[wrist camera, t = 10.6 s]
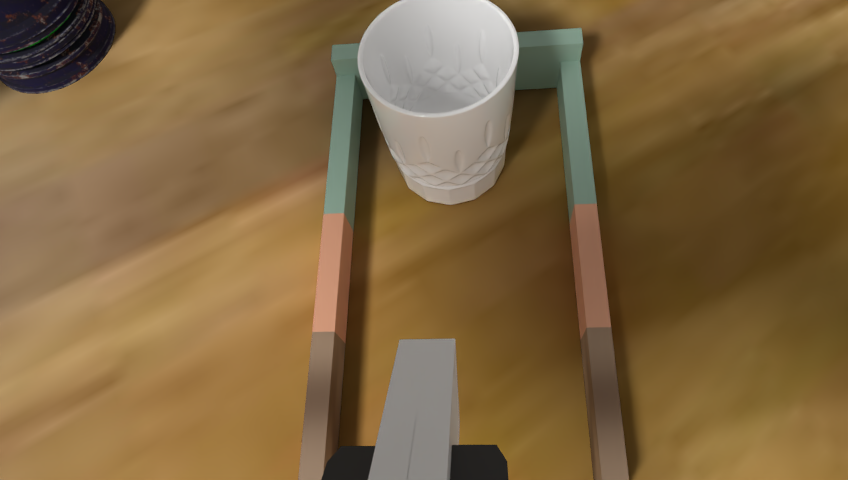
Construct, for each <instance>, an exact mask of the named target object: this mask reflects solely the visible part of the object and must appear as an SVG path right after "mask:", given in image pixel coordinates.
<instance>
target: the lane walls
mask: <svg viewBox="0 0 848 480" xmlns="http://www.w3.org/2000/svg"><path fill="white" fill-rule="evenodd" d="M580 341H581V351H582V362H583V373H584V383H585V394H586V404H587V415H588V425H589V436H590V447H591V457H592V468H593V478H594V480H629V475H628V466H627V458H626V449H625V441H624V432H623V424H622V415H621V407H620V398H619V390H618V381H617V372H616V364H615V355H614V347H613V338H612V330H611V327H594V328H586V330H585V332H584V334H583V336H582V338H581V340H580ZM344 357H345V343H344V341H343V340H342V339H341V338H340V337H339V336H338V335H337V334H336V333H335V332H312V341H311V352H310V362H309V373H308V383H307V394H306V404H305V415H304V426H303V436H302V447H301V457H300V468H299V478H298V480H321V479H322V476H323V473H324V470H325V467H326V463H327V462H328V460H329V459H330V458H331V457H332V456H333V455H334V454H335V452H336V451H337V450H338V442H339V428H340V414H341V400H342V386H343V371H344Z"/></svg>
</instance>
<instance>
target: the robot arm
mask: <svg viewBox="0 0 848 480" xmlns="http://www.w3.org/2000/svg"><path fill="white" fill-rule="evenodd" d="M459 427H460V419H459V401H458V382H457V363H456V345H455V339H404V340H399V345H398V349H397V354H396V358H395V362H394V367H393V371H392V376H391V380H390V384H389V389H388V393H387V398H386V402H385V407H384V411H383V415H382V420H381V424H380V429H379V433H378V437H377V442H376V446H341V447H340V448H339V449H338V450H337V451H336V452H335V454H334V455H333V456H332V457H331V458H330V459H329V460H328V462H327V463H326V467H325V470H324V473H323V476H322V479H321V480H508V468H507V461H506V459H505V458H504V456H503V454H502V453H501V451H500V450H499V448H498V447H497V445H459Z"/></svg>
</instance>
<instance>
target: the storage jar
mask: <svg viewBox="0 0 848 480" xmlns="http://www.w3.org/2000/svg"><path fill="white" fill-rule="evenodd" d="M114 35H115V22H114V18H113V16H112V14H111V12H110V11H109V9H108V8H107V7H106V5H105V4H104V3H103V2H102V1H101V0H0V80H1V81H2V82H3V83H4V84H5V85H7V86H8V87H10V88H12V89H13V90H16V91H19V92H23V93H36V94H38V93H46V92H51V91H55V90H58V89H61V88H63V87H66V86H68V85H70V84H72V83H74V82H76V81H78V80H79V79H81V78H83V77H84V76H86V75H87V74H88V73H89V72H91V71H92V70H93V69H94V68H95V67H96V66H97V65H98V64H99V63H100V62H101V61H102V59H103V58H104V57H105V55H106V54H107V52H108V50H109V49H110V47H111V44H112V42H113V39H114Z"/></svg>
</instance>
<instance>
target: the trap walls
mask: <svg viewBox="0 0 848 480" xmlns="http://www.w3.org/2000/svg"><path fill="white" fill-rule="evenodd" d="M569 225H570V235H571V246H572V256H573V267H574V277H575V288H576V299H577V309H578V320H579V330H580V340H581V338H582V336H583V334H584V332H585V330H586V328H594V327H611V321H610V313H609V304H608V296H607V287H606V279H605V270H604V262H603V253H602V245H601V236H600V228H599V219H598V211H597V204H574V208H573V212H572V216H571V220H570V224H569ZM352 244H353V230H352V228H351V226H350V224H349V222H348V220H347V218H346V216H345V214H344V213H334V214H324V215H323V225H322V236H321V246H320V257H319V268H318V278H317V289H316V299H315V310H314V320H313V331H312V332H335V333H336V334H337V335H338V336H339V337H340V338H341V339H342V340H343V341H344V343H346V329H347V315H348V301H349V287H350V273H351V259H352Z"/></svg>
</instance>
